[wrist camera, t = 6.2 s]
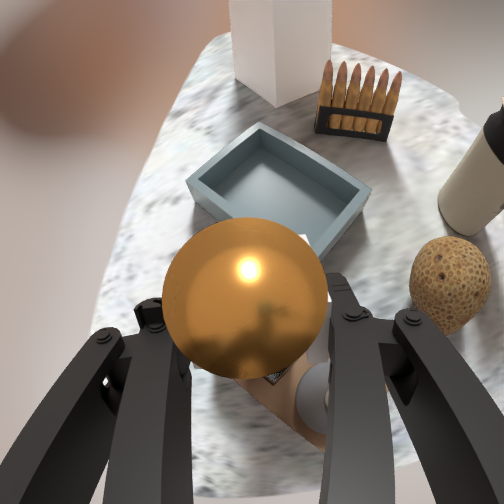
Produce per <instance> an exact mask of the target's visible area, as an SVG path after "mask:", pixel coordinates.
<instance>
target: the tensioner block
mask: <svg viewBox="0 0 504 504" xmlns="http://www.w3.org/2000/svg"><path fill="white" fill-rule="evenodd" d="M329 369H330V357H329V353H328V362H323V363H313V364H308V363H307V357H306V352H305V353H304V354H303V355H302V356H301V357H300V358H299V359H297V360H296V361H295V362H294V363H292V364H291V365H289V366H288V367H287V368H286V369H285V371H284V372H283V373H282V374H281V375H280V376H279V377H278V378H277V379H276V380H275V381H274V382H273V381H272V380H271V379H270V378H269V377H267V376H263V377H259V378H252V379H234V380H235V381H236V382H237V383H239V384H240V385H241V386H242V387H243V388H244V389H245V390H246V391H248V392H249V393H250V394H251V395H252V396H253V397H255V398H256V399H257V400H258V401H259V402H260V403H262V404H263V405H264V406H265V407H266V408H268V409H269V410H270V411H271V412H272V413H274V414H275V415H276V416H277V417H279V418H280V419H281V420H282V421H283V422H285V423H286V424H287V425H289V426H290V427H291V428H292V429H294V430H295V431H296V432H298V433H299V434H300V435H302V436H303V437H304V438H305V439H307V440H308V441H310V442H311V443H312V444H314V445H315V446H316V447H318V448H319V449H320V450H322V451H323V452H325V445H326V432H327V416H328V397H329V383H328V378H329ZM385 385H386V383H385ZM388 391H389V390H388V388H387V385H386V392H388Z"/></svg>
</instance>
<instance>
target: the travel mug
mask: <svg viewBox="0 0 504 504" xmlns="http://www.w3.org/2000/svg"><path fill="white" fill-rule="evenodd" d="M438 204H439V208H440V211H441V213H442V215H443V217H444V219H445V220H446V222H447V223H448V224H449V225H450V226H451V227H452V228H453V229H454V230H455V231H457V232H458V233H460V234H462V235H466V236H473V235H475V234H477V233H478V232H479V231H480V230H481V229H482V228H484V227H485V226H486V225H487V224H488V223H489V222H490V221H491V220H492V219H494V218H495V217H496V216H497V215H498V214H499V213H500V212H501V211H502V210H503V209H504V97H503V98H502V107H501V109H500V111H498V112H496V113H494V114H491V115H490V116H489V118H488V120H487V121H486V123H485V125H484V126H483V128H482V129H481V131H480V133H479V134H478V136H477V137H476V139H475V141H474V142H473V144H472V145H471V147H470V148H469V150H468V151H467V153H466V154H465V156H464V157H463V159H462V160H461V162H460V163H459V165H458V166H457V168H456V169H455V170H454V172H453V173H452V175H451V176H450V177H449V179H448V180H447V182H446V183H445V184H444V186H443V187H442V188H441V190H440V192H439V194H438Z"/></svg>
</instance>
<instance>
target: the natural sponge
mask: <svg viewBox="0 0 504 504" xmlns="http://www.w3.org/2000/svg"><path fill="white" fill-rule="evenodd" d="M490 288H491V274H490V268H489V265H488V263H487V260H486V258H485V257H484V255H483V254H482V252H481V251H480V250H479V249H478V248H477V247H476V246H475V245H474V244H472V243H471V242H469V241H466V240H464V239H461V238H458V237H452V236H446V237H440V238H436V239H433V240H431V241H429V242H428V243H427V244H425V245H424V246H423V247H422V248H421V250H420V251H419V253H418V254H417V256H416V258H415V260H414V263H413V266H412V270H411V275H410V282H409V290H410V295H411V298H412V300H413V302H414V304H415V306H416V307H417V309H418V310H420V311H423V312H424V313H426V314H427V315H428V316H429V317H430V318H431V319H432V321H433V322H434V323H435V324H436V325H437V327H438V328H439V329H440V330H441V331H442V333H443V334H444V335H449V334H452V333H454V332H456V331H457V330H459V329H460V328H461V327H462V326H464V325H465V324H466V323H467V322H468V321H469V320H471V319H472V318H473V317H474V316H475V315H476V314H477V313H478V312H479V310H480V309H481V308H482V307H483V306H484V304H485V303H486V301H487V298H488V296H489V292H490Z"/></svg>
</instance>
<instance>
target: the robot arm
mask: <svg viewBox="0 0 504 504" xmlns="http://www.w3.org/2000/svg"><path fill="white" fill-rule="evenodd" d="M299 236H300V237H301V238H303V239H304V240H305V241H306V242H307V243H308V245H309V246H310V244H309V242H308V239H307V237H306V234H302V235H299ZM325 276H326V281H327V286H328V304H327V311H326V316H325V320H324V322H323V325H322V328H321V330H320V332H319V334H318V336H317V337H316V339H315V341H314V342H313V343H312V345H311V346H310V347H309V349H308V350H307V351H306V357H307V363H308V364H313V363H323V362H328V353H329V357H330V369H329V378H328V383H329V397H328V416H327V432H326V445H325V456H324V466H323V475H322V484H321V492H320V500H319V504H395V476H394V457H393V444H392V433H391V423H390V415H389V406H388V399H387V392H386V385H387V388H388V390H389V392H390V394H391V396H392V398H393V400H394V402H395V405H396V407H397V409H398V411H399V413H400V416H401V418H402V420H403V422H404V424H405V427H406V429H407V431H408V434H409V436H410V438H411V441H412V443H413V445H414V448H415V450H416V452H417V455H418V457H419V460H420V462H421V465H422V467H423V470H424V472H425V475H426V477H427V480H428V482H429V485H430V488H431V490H432V493H433V496H434V498H435V501H436V504H504V416H503V414H502V413H501V411H500V410H499V408H498V406H497V405H496V403H495V402H494V401H493V399H492V398H491V396H490V395H489V393H488V392H487V390H486V389H485V387H484V386H483V385H482V383H481V382H480V380H479V379H478V378H477V376H476V375H475V374H474V372H473V371H472V370H471V368H470V367H469V366H468V364H467V363H466V362H465V360H464V359H463V358H462V356H461V355H460V354H459V353H458V351H457V350H456V349H455V347H454V346H453V345H452V344H451V342H450V341H449V340H448V339H447V337H446V336H445V335H444V334H443V333H442V331H441V330H440V329H439V328H438V327H437V325H436V324H435V323H434V322H433V321H432V319H431V318H430V317H429V316H428V315H427V314H426V313H424V312H423V311H420V310H418V309H412V308H410V309H403V310H400V311H399V312H398V313H396V315H395V319H394V320H385V319H377V318H374V317H373V316H372V314H371V312H370V311H369V310H368V309H367V308H365V307H362V306H360V305H359V303H358V301H357V299H356V297H355V295H354V293H353V291H352V290H351V287H350V285H349V283H348V281H347V279H346V278H345V277H344V276H342V275H341V274H339V273H329V274H325ZM134 312H135V315H136V318H137V321H138V324H139V326H140V332H139V333H138V334H135V335H129V336H124V337H122V335H121V333H120V331H119V330H118V329H117V328H113V327H107V328H102V329H100V330H98V331H97V332H95V333H94V334H93V335H92V336H91V337H90V338H89V339H88V340H87V342H86V343H85V344H84V346H83V347H82V348H81V349H80V351H79V352H78V353H77V355H76V356H75V357H74V358H73V360H72V361H71V362H70V363H69V365H68V366H67V367H66V369H65V370H64V371H63V373H62V374H61V375H60V377H59V378H58V379H57V381H56V382H55V383H54V385H53V386H52V387H51V389H50V390H49V392H48V393H47V394H46V396H45V397H44V399H43V400H42V401H41V403H40V404H39V406H38V407H37V409H36V410H35V412H34V413H33V414H32V416H31V417H30V419H29V420H28V422H27V424H26V425H25V427H24V428H23V429H22V431H21V432H20V434H19V436H18V437H17V439H16V441H15V442H14V443H13V445H12V447H11V448H10V450H9V452H8V453H7V455H6V456H5V458H4V460H3V461H2V463H1V465H0V504H89V503H90V501H91V498H92V496H93V494H94V491H95V489H96V487H97V484H98V482H99V480H100V477H101V475H102V473H103V471H104V469H105V466H106V464H107V462H108V460H109V462H108V468H107V475H106V481H105V489H104V497H103V504H193V483H192V450H191V387H192V376H191V372H190V369H189V365H190V362H191V361H190V360H189V359H188V358H187V357H186V356H185V355H184V354H183V353H182V352H181V351H180V349H179V348H178V347H177V346H176V344H175V343H174V341H173V339H172V338H171V336H170V334H169V331H168V329H167V327H166V323H165V320H164V316H163V309H162V298H151V299H147V300H145V301H142V302H141V303H139V304H138V305H136V307H135V308H134ZM193 365H194V368H195V369H202V368H200V367H199V366H197V365H196V364H194V363H193ZM105 377H106V378H107V380H108V383H107V384H106V385H105V386H104V385H103V383H102V382H103V381H104V379H105ZM385 383H386V385H385Z"/></svg>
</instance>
